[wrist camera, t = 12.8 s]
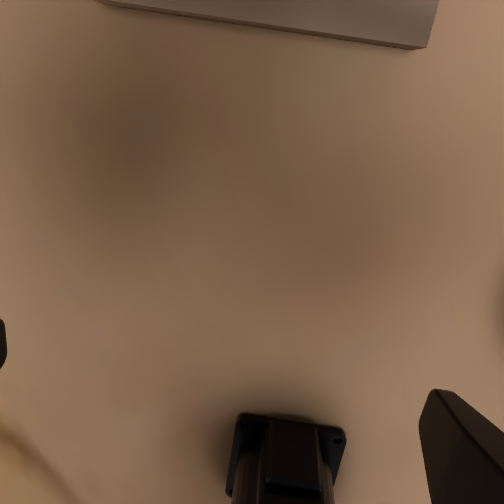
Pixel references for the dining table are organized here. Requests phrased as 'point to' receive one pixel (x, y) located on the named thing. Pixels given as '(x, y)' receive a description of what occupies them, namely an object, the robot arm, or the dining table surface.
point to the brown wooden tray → (313, 17)
